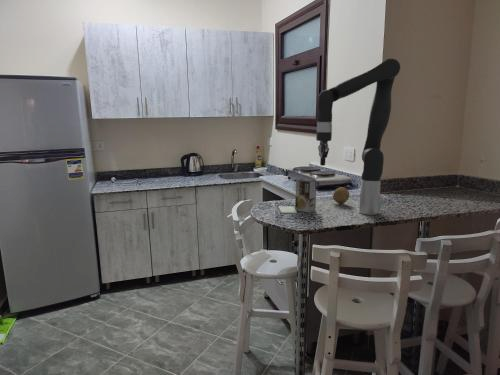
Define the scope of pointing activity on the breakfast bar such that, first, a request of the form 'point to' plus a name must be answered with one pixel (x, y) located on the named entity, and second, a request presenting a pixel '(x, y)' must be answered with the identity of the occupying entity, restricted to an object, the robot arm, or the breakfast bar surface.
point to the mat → (287, 209)
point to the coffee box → (305, 195)
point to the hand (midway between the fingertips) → (322, 165)
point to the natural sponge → (341, 195)
